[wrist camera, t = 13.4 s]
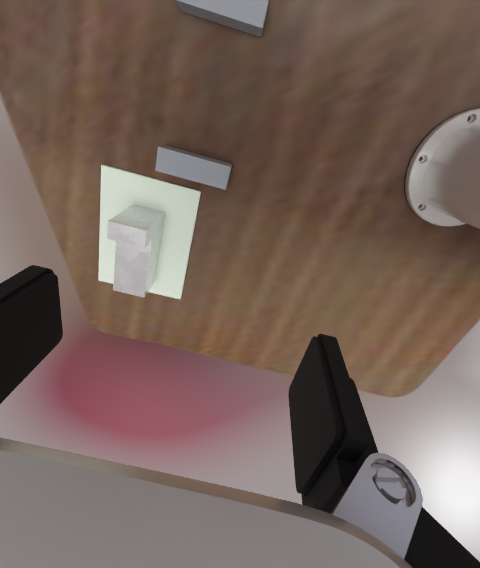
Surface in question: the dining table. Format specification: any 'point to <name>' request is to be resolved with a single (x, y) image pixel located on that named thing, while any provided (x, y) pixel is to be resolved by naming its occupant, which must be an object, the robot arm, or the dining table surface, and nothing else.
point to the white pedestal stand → (136, 248)
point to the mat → (176, 231)
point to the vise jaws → (235, 14)
